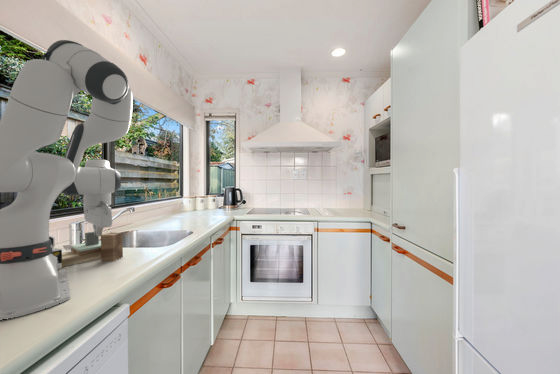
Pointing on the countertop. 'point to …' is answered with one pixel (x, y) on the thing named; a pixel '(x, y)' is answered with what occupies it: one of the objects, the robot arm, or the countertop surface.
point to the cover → (88, 243)
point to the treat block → (111, 246)
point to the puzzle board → (80, 256)
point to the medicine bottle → (56, 250)
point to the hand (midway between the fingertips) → (98, 235)
